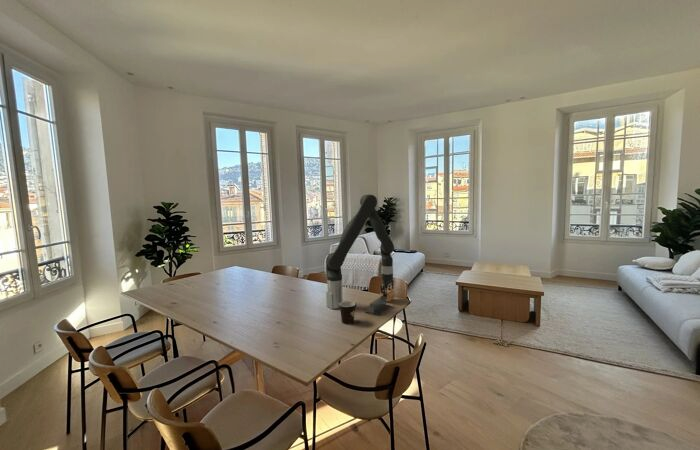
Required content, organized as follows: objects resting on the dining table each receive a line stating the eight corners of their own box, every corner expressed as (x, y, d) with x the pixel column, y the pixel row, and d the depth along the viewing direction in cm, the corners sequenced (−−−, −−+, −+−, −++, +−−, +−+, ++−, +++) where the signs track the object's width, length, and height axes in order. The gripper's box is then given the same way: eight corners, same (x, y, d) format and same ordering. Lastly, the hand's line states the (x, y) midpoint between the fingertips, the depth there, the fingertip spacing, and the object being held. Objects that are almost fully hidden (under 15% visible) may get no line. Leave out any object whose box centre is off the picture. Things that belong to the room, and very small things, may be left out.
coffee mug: (344, 326, 160) (343, 307, 159) (337, 320, 168) (336, 303, 167) (363, 321, 165) (363, 303, 164) (355, 316, 173) (355, 299, 172)
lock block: (394, 298, 198) (394, 291, 197) (389, 301, 193) (389, 293, 192) (384, 296, 202) (384, 289, 201) (380, 299, 197) (380, 291, 196)
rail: (379, 315, 173) (378, 305, 173) (365, 312, 178) (365, 302, 177) (390, 306, 187) (390, 297, 186) (377, 304, 191) (377, 295, 191)
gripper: (387, 269, 204) (387, 293, 205) (376, 274, 192) (376, 299, 193) (397, 270, 200) (397, 295, 201) (387, 275, 188) (387, 301, 189)
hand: (387, 297), depth 197 cm, fingers closed on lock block, 6 cm apart
